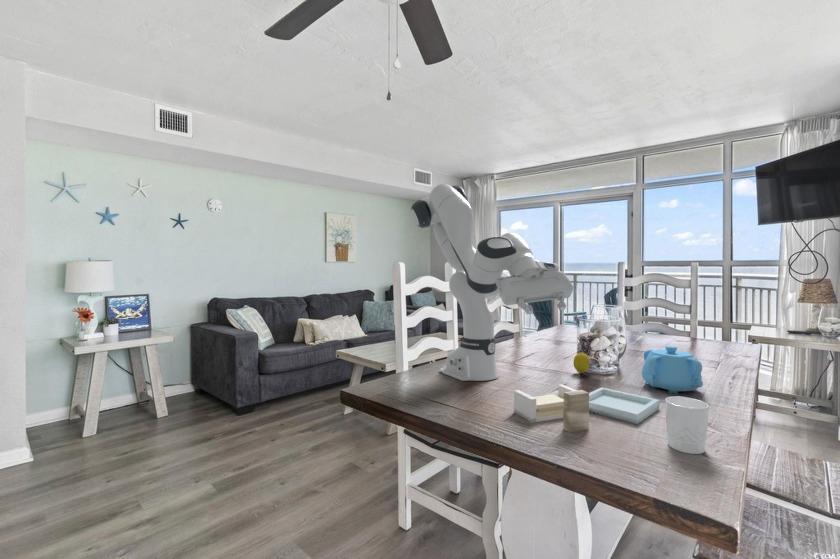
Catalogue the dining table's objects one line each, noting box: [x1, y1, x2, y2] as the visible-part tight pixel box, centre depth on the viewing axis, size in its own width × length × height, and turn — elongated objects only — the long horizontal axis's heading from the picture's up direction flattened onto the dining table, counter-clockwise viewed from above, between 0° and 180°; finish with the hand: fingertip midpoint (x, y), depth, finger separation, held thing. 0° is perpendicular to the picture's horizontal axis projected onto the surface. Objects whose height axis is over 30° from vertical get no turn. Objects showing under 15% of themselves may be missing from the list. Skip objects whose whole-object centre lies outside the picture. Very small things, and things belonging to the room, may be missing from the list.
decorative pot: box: [641, 345, 704, 394], centre depth 130 cm, size 16×16×14 cm
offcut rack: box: [513, 384, 578, 424], centre depth 108 cm, size 8×16×6 cm, turn 109°
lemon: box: [573, 351, 590, 374], centre depth 148 cm, size 6×6×8 cm
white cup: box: [664, 395, 710, 455], centre depth 87 cm, size 8×8×10 cm
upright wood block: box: [562, 389, 590, 434], centre depth 98 cm, size 2×6×9 cm, turn 109°
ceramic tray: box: [588, 386, 660, 425], centre depth 112 cm, size 16×16×2 cm
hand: (546, 310), depth 107 cm, fingers open, 8 cm apart
